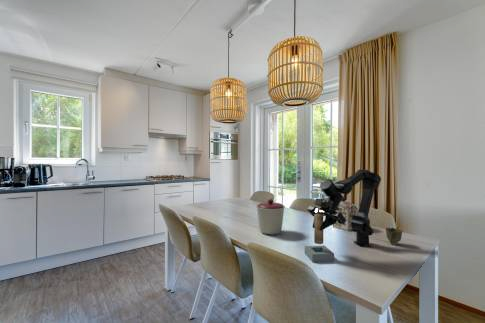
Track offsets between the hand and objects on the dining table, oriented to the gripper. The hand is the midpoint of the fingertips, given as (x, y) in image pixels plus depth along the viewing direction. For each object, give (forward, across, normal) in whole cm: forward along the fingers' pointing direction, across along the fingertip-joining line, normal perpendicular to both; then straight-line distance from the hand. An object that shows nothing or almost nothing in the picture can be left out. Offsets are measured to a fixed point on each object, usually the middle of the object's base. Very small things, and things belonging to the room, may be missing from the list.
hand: (316, 228), depth 107 cm
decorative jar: (-28, -25, +48) cm, 61 cm away
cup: (-25, +8, +45) cm, 52 cm away
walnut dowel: (+4, 0, +6) cm, 7 cm away
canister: (+7, -42, +13) cm, 44 cm away
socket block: (+9, 0, +10) cm, 13 cm away
